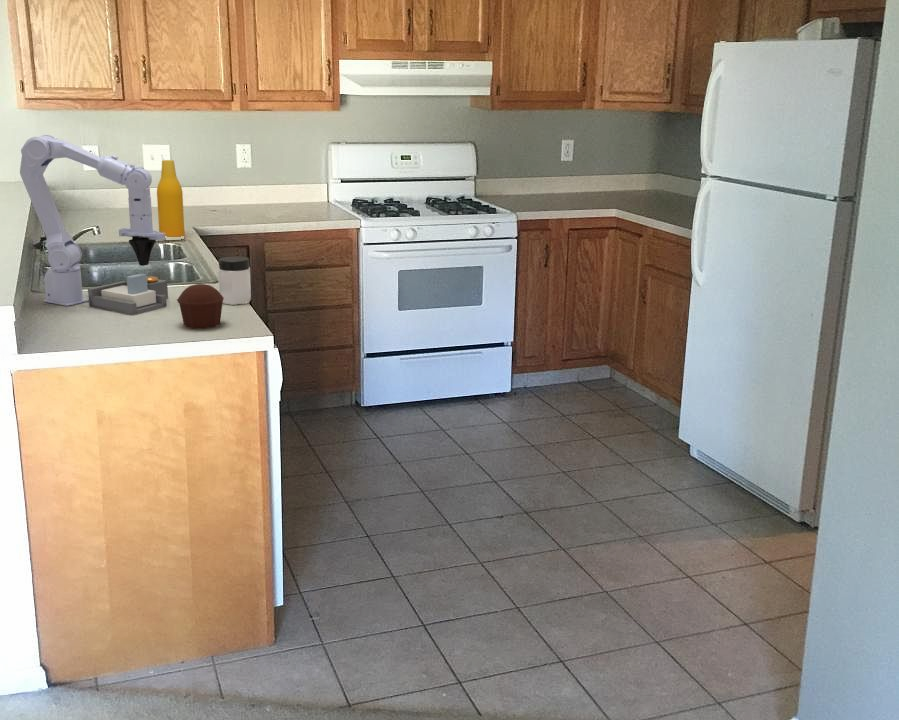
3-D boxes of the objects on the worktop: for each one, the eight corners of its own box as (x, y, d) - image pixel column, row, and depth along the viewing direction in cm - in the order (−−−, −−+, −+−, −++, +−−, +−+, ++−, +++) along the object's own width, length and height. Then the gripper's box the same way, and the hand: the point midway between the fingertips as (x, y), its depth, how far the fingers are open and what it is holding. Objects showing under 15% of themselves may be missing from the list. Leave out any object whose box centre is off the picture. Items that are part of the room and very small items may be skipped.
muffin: (183, 318, 250) (181, 280, 247) (227, 318, 250) (226, 280, 248) (174, 330, 238) (172, 290, 235) (220, 330, 239) (218, 290, 236)
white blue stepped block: (102, 301, 259) (99, 273, 257) (124, 296, 266) (122, 269, 263) (134, 307, 254) (132, 279, 252) (156, 302, 260) (154, 274, 258)
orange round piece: (138, 293, 268) (137, 278, 267) (150, 290, 272) (149, 275, 271) (150, 295, 266) (149, 280, 265) (161, 292, 270) (161, 277, 269)
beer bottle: (169, 236, 371) (165, 158, 362) (190, 238, 367) (186, 160, 359) (154, 239, 362) (149, 160, 354) (175, 241, 359) (170, 162, 351)
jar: (223, 297, 273) (221, 255, 270) (252, 298, 274) (251, 256, 270) (217, 305, 265) (215, 261, 261) (247, 305, 265) (246, 262, 262)
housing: (89, 307, 259) (87, 288, 258) (143, 294, 275) (142, 276, 274) (132, 315, 252) (131, 296, 250) (186, 301, 268) (185, 283, 266)
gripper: (109, 214, 258) (112, 264, 262) (151, 218, 252) (154, 270, 256) (128, 211, 264) (131, 260, 268) (169, 215, 258) (172, 266, 262)
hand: (143, 265), depth 262 cm, fingers closed
